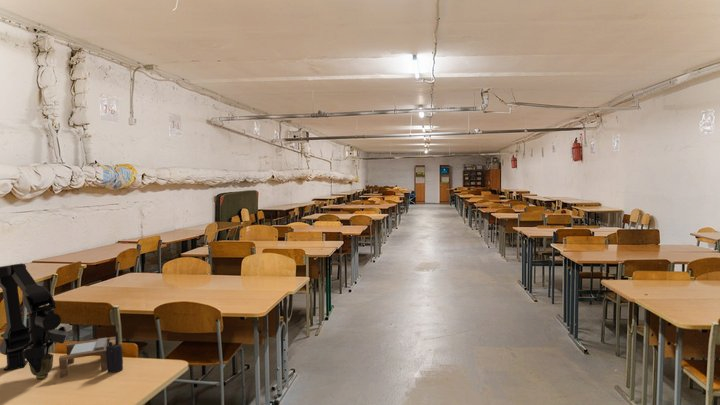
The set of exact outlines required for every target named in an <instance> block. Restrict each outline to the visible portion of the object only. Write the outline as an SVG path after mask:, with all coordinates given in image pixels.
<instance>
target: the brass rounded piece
mask: <svg viewBox="0 0 720 405" xmlns="http://www.w3.org/2000/svg"><path fill="white" fill-rule="evenodd" d="M28 364H29V369H30V372H31V374H32V375H33V376H35V378H36V380H39V381H40V380H45V379H47V378H48V377H49V373H50V372H51V370H52V369H53V364H54V354H53V353H50V352H48V355H47V354H46V355H45V356H44V357H43V358H42V364H41V370H40V372H38V373H36V371H35V370H34V369H33V367H32V366H31V364H30V363H29V362H28Z"/></svg>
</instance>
